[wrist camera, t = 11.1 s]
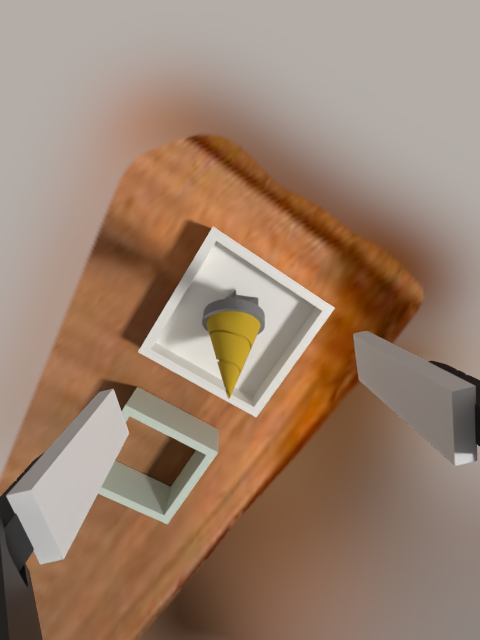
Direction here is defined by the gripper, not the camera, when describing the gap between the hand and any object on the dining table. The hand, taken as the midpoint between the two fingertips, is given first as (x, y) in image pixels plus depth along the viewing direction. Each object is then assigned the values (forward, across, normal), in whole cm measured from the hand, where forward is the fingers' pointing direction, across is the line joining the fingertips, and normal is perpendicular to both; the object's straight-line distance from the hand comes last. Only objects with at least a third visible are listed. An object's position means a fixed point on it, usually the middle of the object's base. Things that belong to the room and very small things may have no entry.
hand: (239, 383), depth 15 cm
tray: (+12, 0, 0) cm, 13 cm away
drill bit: (+12, -1, 0) cm, 12 cm away
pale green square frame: (+13, +10, +11) cm, 20 cm away
